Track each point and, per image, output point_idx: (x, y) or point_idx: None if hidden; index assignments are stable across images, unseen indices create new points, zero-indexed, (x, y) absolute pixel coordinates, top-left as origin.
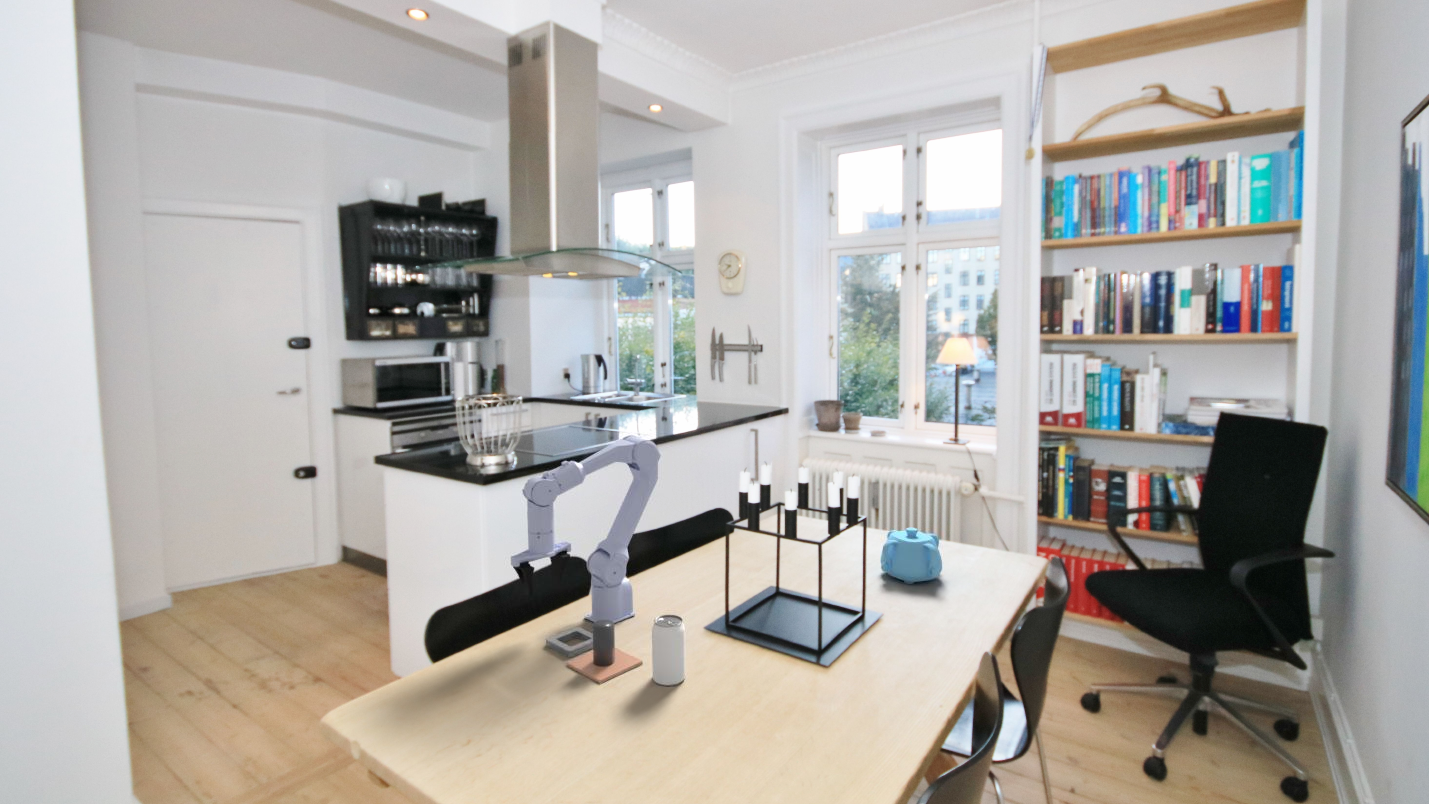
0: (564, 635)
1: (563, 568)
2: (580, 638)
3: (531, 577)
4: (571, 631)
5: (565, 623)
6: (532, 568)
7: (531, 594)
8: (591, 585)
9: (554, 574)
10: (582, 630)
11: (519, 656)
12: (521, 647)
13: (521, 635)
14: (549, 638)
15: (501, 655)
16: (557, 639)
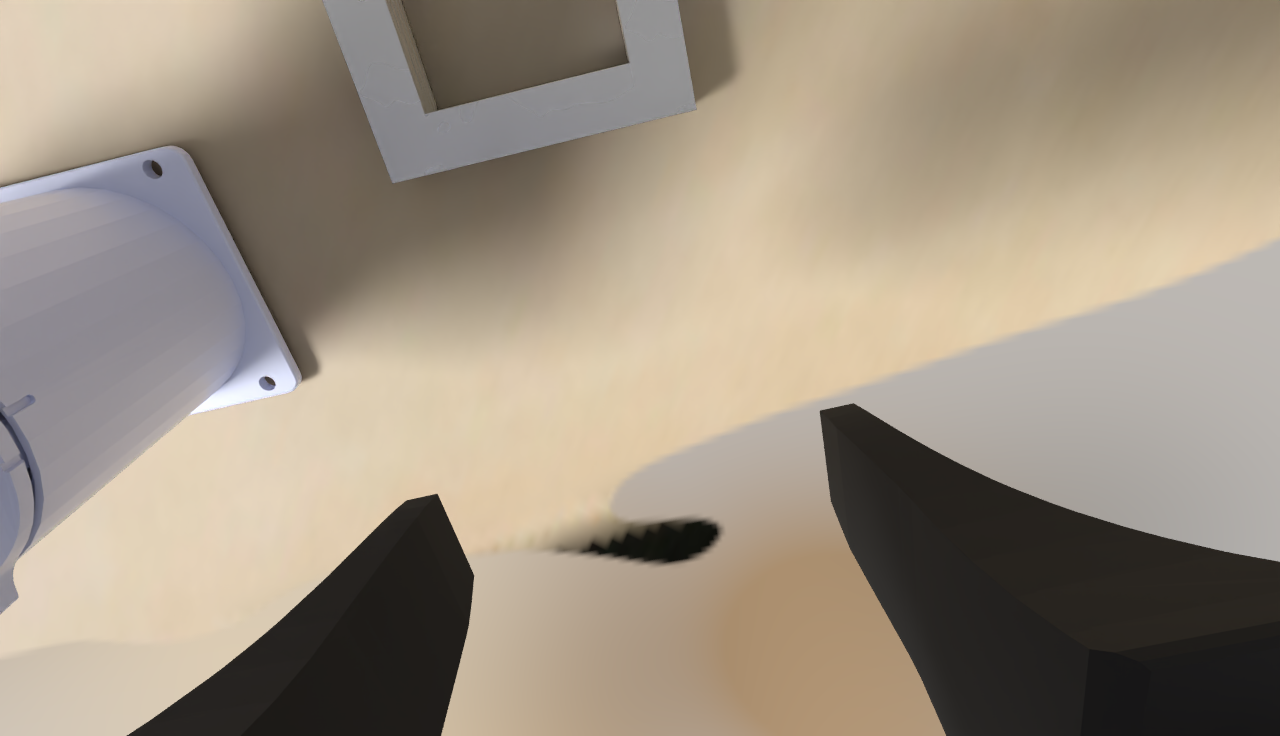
0: (544, 84)
1: (259, 662)
2: (420, 58)
3: (969, 526)
4: (468, 125)
5: (448, 372)
6: (1172, 629)
7: (827, 410)
8: (56, 477)
9: (432, 663)
10: (378, 88)
11: (918, 44)
12: (838, 184)
13: (758, 357)
14: (667, 104)
15: (999, 141)
16: (611, 67)
